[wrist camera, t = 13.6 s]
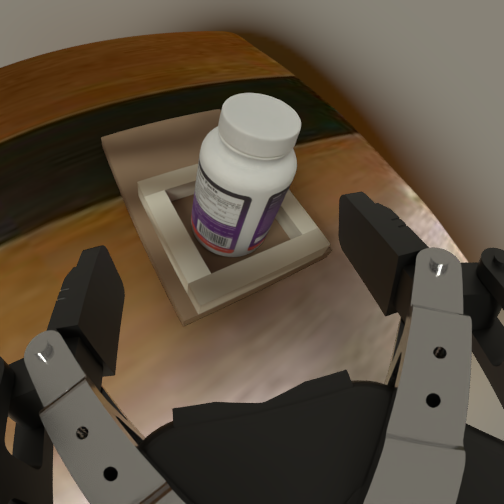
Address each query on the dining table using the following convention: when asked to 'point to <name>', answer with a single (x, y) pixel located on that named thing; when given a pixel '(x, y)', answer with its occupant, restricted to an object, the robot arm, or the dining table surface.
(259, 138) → the pill bottle
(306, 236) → the socket board
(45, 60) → the dining table surface
